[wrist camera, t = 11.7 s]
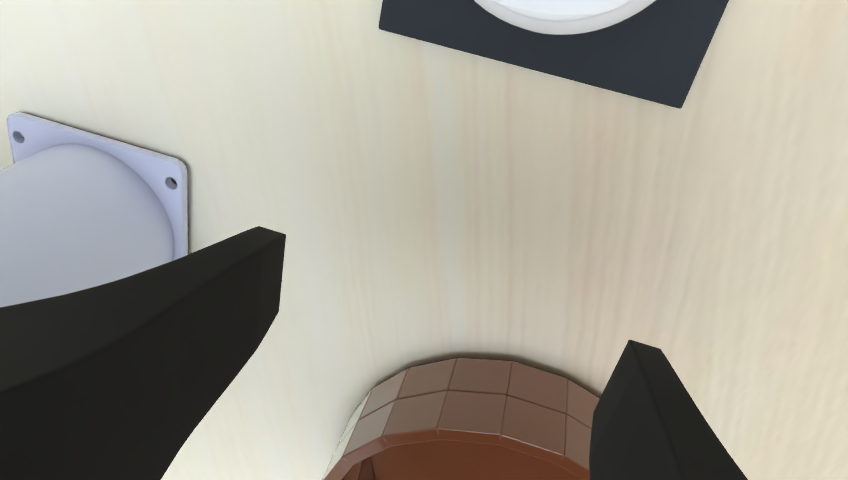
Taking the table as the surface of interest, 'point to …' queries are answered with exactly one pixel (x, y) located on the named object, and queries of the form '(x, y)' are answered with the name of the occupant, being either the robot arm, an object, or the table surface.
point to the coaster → (577, 43)
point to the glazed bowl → (468, 425)
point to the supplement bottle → (563, 13)
